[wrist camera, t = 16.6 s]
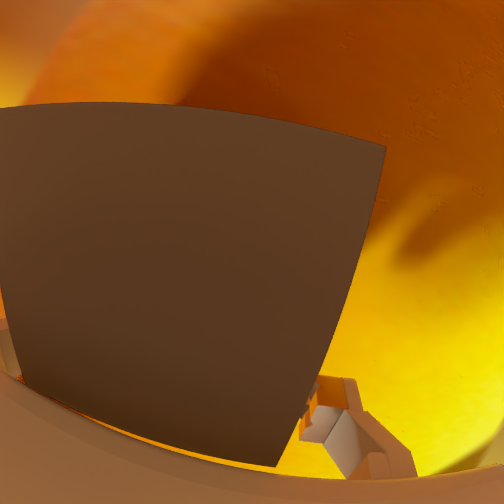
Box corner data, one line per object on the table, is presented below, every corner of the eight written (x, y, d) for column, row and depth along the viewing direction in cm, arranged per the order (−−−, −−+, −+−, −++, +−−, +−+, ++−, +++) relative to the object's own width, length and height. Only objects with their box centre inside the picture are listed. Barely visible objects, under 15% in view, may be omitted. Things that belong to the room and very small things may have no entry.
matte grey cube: (317, 151, 12) (386, 146, 4) (281, 305, 14) (275, 467, 6) (154, 125, 12) (-1, 108, 4) (138, 273, 14) (25, 384, 6)
